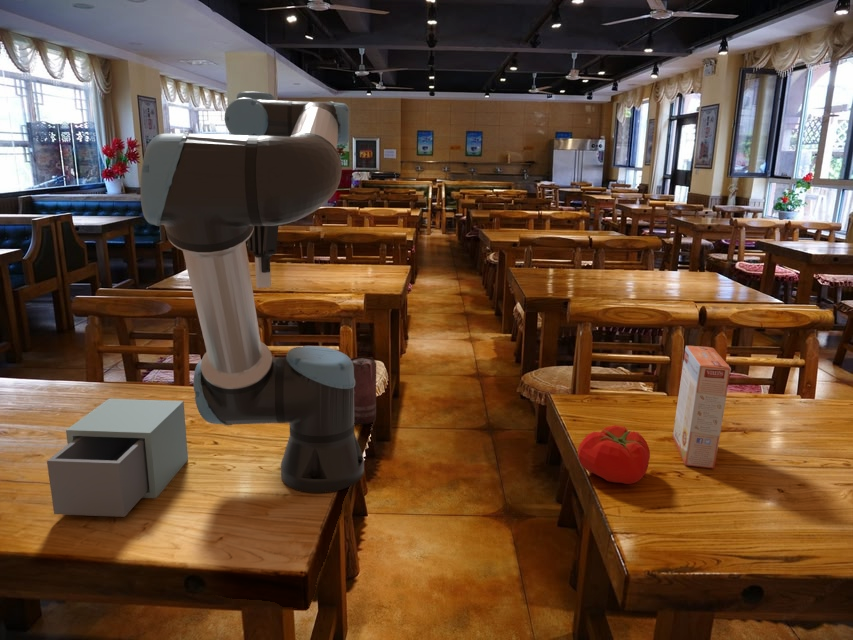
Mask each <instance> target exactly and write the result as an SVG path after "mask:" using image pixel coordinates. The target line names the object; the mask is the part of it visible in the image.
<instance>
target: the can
mask: <svg viewBox="0 0 853 640" xmlns="http://www.w3.org/2000/svg"><path fill="white" fill-rule="evenodd" d="M350 359H351V361H352V363H353V367H354V379H355V386H354V423H355V424H354V425H358V424H361V425H360V426H362V425H369V424H372V423H374V422H375V420H376V418H377V362H376V361H375V359H374V358H373V357H369V356H356V357H352V358H350Z"/></svg>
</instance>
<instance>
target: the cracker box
mask: <svg viewBox="0 0 853 640" xmlns="http://www.w3.org/2000/svg"><path fill="white" fill-rule="evenodd" d="M684 347H685V348H684V355H683V361H682V368H681V369H682V370H681V377H680V382H679V384H680V385H679V388H678V389H679V390H678V398H677V404H676V412H675V418H674V424H673V431H672V439H673V441H674V443H675V447H676V448H677V450H678V452H679V454H680V457H681V459H682V461H683V464H684V466H690V467H697V468H698V467H699V468H704V469H705V468H706V469H715V467H716V461H717V456H718V449H719V445H720V444H719V443H720V437H721V432H722V426H723V425H722V424H723V421H724V420H723V418H724V413H725V407H726V400H727V395H728V388H729V384H730V379H731V371H732V368H731V366H730V365H729V364H728V363H727V362H726V361H725V359H723V358H722V356H721V355H720V354H719V353H718V351H717V350H716V348H714V347H711V346H710V347H709V346H699V345H697V346H696V345H685V346H684Z"/></svg>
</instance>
